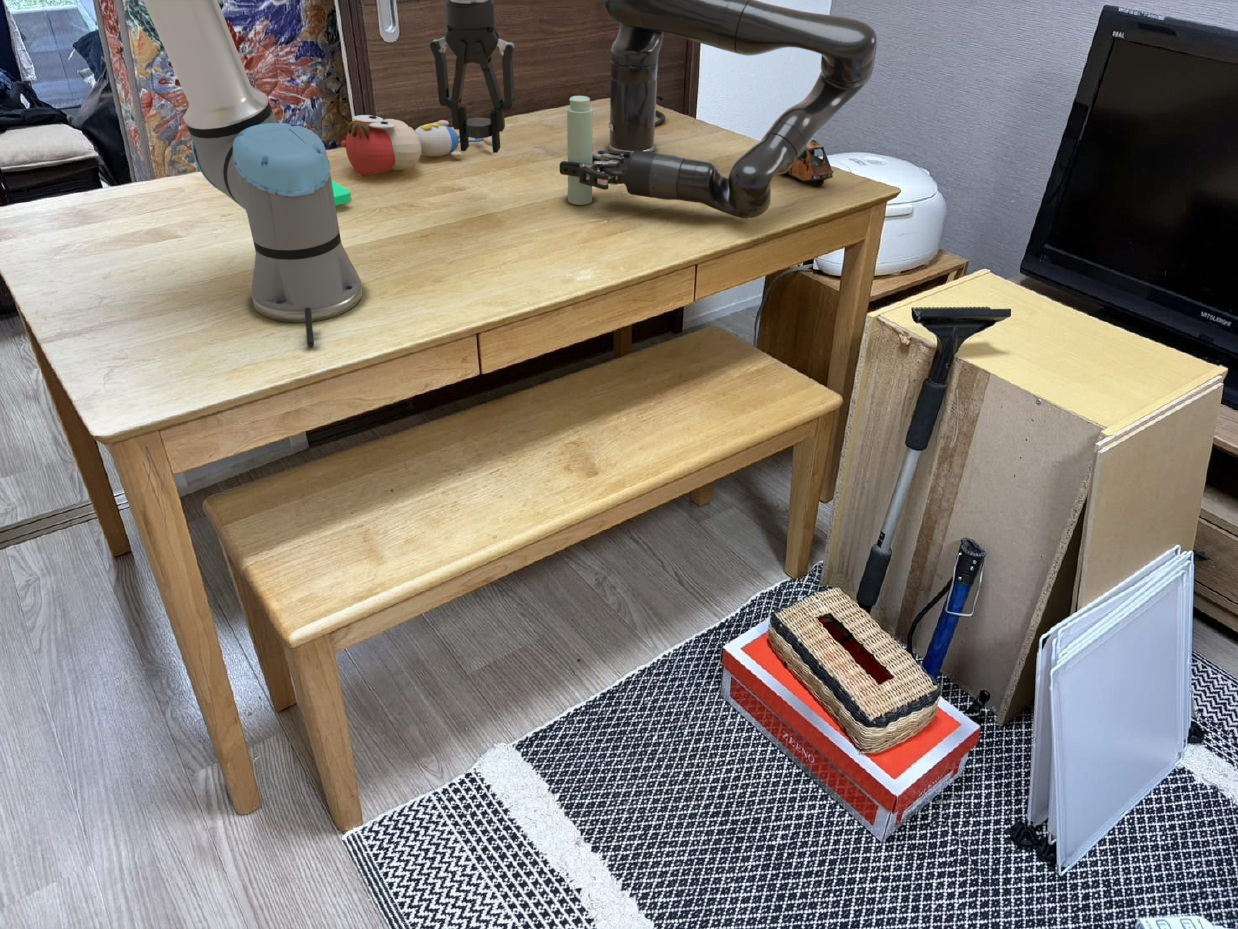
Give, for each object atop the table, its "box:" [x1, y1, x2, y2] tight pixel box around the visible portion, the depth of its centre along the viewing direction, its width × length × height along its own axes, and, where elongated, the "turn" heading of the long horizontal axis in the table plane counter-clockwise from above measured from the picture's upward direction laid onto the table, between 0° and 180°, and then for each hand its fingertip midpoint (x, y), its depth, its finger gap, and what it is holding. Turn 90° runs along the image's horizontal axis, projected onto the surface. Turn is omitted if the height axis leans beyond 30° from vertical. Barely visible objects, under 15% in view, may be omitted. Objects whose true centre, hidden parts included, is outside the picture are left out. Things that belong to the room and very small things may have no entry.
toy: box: [340, 114, 492, 176], centre depth 180 cm, size 18×10×30 cm
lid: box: [464, 117, 492, 139], centre depth 155 cm, size 5×5×2 cm
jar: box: [566, 95, 594, 206], centre depth 163 cm, size 4×4×18 cm
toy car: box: [782, 138, 834, 187], centre depth 178 cm, size 6×12×7 cm, turn 39°
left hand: (480, 149), depth 157 cm, fingers closed on lid, 5 cm apart
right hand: (565, 162), depth 165 cm, fingers closed on jar, 4 cm apart
